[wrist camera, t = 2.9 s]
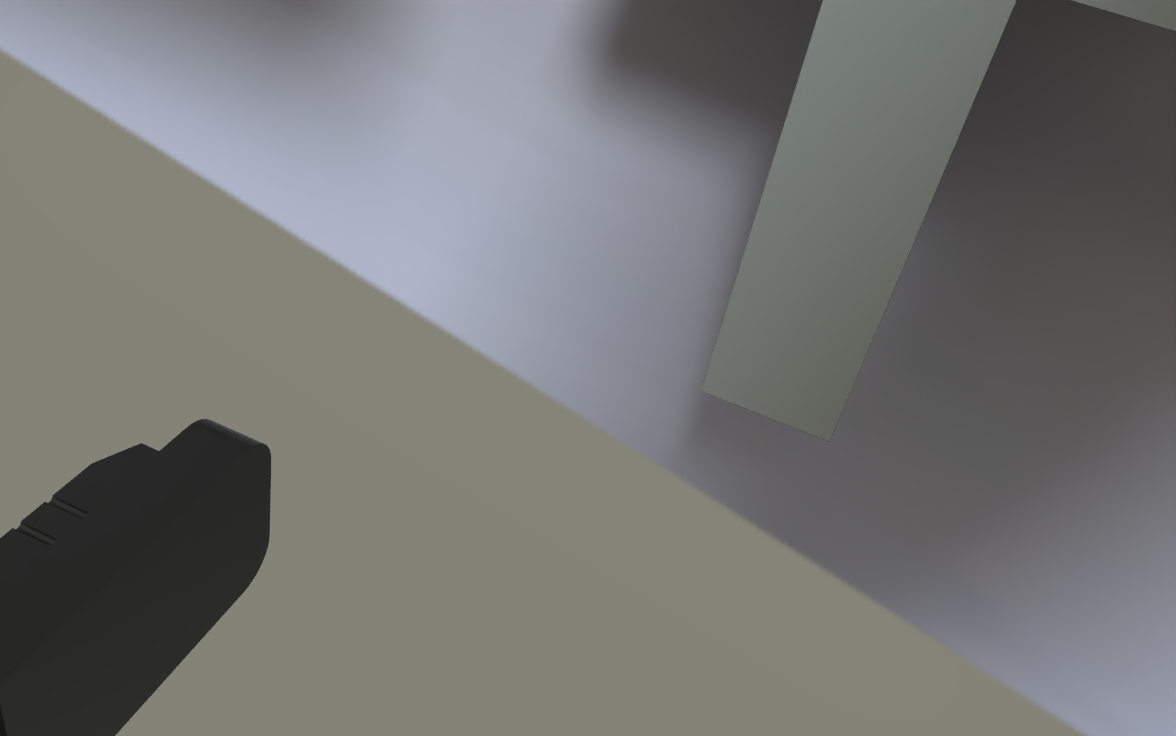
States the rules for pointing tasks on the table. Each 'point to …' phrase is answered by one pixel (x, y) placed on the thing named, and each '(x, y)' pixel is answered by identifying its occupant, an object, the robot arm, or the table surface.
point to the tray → (854, 194)
